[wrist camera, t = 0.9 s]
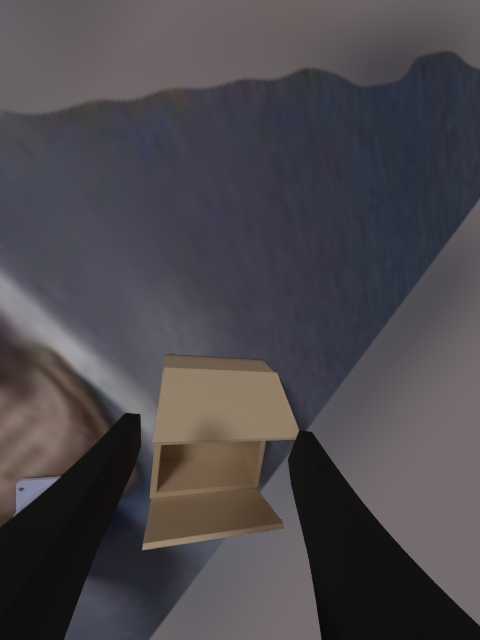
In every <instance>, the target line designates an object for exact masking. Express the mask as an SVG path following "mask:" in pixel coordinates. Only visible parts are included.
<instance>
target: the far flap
mask: <svg viewBox="0 0 480 640" xmlns="http://www.w3.org/2000/svg"><path fill="white" fill-rule="evenodd" d="M283 528H284V527H283V522H282V521H281V519H280V518H279V517H278V516H277V514H276V513H275V512H274V510H273V509H272V508H271V507H270V505H269V504H268V503H267V501H266V500H265V499H264V498H263V496H262V495H261V494H260V492H259V491H258V490H257V489H256V488H255V489H245V490H235V491H225V492H215V493H205V494H194V495H184V496H174V497H164V498H154V499H151V504H150V509H149V515H148V520H147V525H146V530H145V536H144V541H143V548H142V550H147V549H154V548H160V547H167V546H173V545H180V544H186V543H193V542H199V541H206V540H212V539H218V538H225V537H231V536H238V535H244V534H251V533H257V532H263V531H270V530H277V529H283Z"/></svg>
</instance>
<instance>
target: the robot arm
mask: <svg viewBox="0 0 480 640" xmlns="http://www.w3.org/2000/svg"><path fill="white" fill-rule="evenodd" d="M140 448H141V419H140V414H132V413H125V414H124V415H123V416H122V417H121V418H120V419H119V420H118V421H117V422H116V423H115V424H114V425H113V426H112V427H111V429H110V430H109V431H108V432H107V433H106V434H105V435H104V436H103V437H102V438H101V439H100V440H99V441H98V442H97V443H96V444H95V445H94V446H93V447H92V448H91V449H90V450H89V451H88V452H87V453H86V454H85V455H84V456H82V457H81V458H80V459H79V460H78V461H77V462H76V463H75V464H74V465H73V466H72V467H71V468H70V469H69V470H67V471H66V472H65V473H64V474H63V475H62V476H57V477H42V478H28V479H21V480H20V481H19V482H18V483H17V485H16V513H15V515H14V516H13V517H12V518H11V519H10V520H9V521H7V522H6V523H5V524H3V525H2V526H1V527H0V640H64V638H65V635H66V632H67V629H68V627H69V624H70V621H71V618H72V616H73V613H74V610H75V607H76V605H77V602H78V599H79V596H80V594H81V591H82V588H83V586H84V583H85V580H86V578H87V575H88V572H89V570H90V567H91V564H92V562H93V559H94V556H95V554H96V551H97V549H98V547H99V544H100V542H101V540H102V537H103V535H104V533H105V531H106V529H107V526H108V524H109V522H110V520H111V518H112V515H113V513H114V511H115V509H116V507H117V504H118V502H119V500H120V498H121V496H122V494H123V491H124V489H125V487H126V485H127V482H128V480H129V478H130V476H131V473H132V471H133V468H134V465H135V462H136V460H137V457H138V454H139V451H140ZM288 463H289V472H290V479H291V486H292V490H293V494H294V499H295V503H296V507H297V511H298V515H299V520H300V524H301V528H302V532H303V536H304V540H305V545H306V548H307V553H308V558H309V563H310V568H311V574H312V580H313V586H314V592H315V598H316V605H317V612H318V618H319V625H320V631H321V638H322V640H480V626H479V625H478V624H477V623H476V622H475V621H474V620H473V619H472V618H471V617H470V616H469V615H468V614H467V613H465V612H464V611H463V610H462V609H461V608H460V607H459V606H458V605H457V604H456V603H455V602H454V601H453V600H452V599H451V598H450V597H449V596H448V595H447V594H446V593H445V592H444V591H443V590H442V589H441V588H440V587H439V586H438V585H437V584H436V583H435V582H434V581H433V580H432V579H431V578H430V577H429V576H428V575H427V574H426V573H425V572H424V571H423V570H422V569H421V568H420V567H419V566H418V565H417V563H416V562H414V560H413V559H412V558H411V557H410V556H409V555H408V554H407V553H406V552H405V551H404V550H403V549H402V548H401V546H400V545H399V544H398V543H397V542H396V541H395V540H394V539H393V538H392V536H391V535H390V534H389V533H388V532H387V531H386V529H385V528H384V527H383V526H382V525H381V524H380V523H379V521H378V520H377V519H376V518H375V517H374V515H373V514H372V513H371V512H370V511H369V509H368V508H367V507H366V506H365V504H364V503H363V502H362V501H361V499H360V498H359V497H358V496H357V494H356V493H355V492H354V490H353V489H352V488H351V486H350V485H349V484H348V482H347V481H346V480H345V478H344V477H343V476H342V474H341V473H340V471H339V470H338V469H337V467H336V466H335V464H334V463H333V462H332V460H331V459H330V457H329V456H328V455H327V453H326V452H325V450H324V449H323V447H322V446H321V444H320V443H319V442H318V440H317V439H316V437H315V436H314V434H313V433H312V432H308V431H299V432H298V435H297V437H296V440H295V443H294V445H293V448H292V450H291V453H290V456H289V458H288Z"/></svg>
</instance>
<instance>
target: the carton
mask: <svg viewBox="0 0 480 640" xmlns="http://www.w3.org/2000/svg"><path fill="white" fill-rule="evenodd" d="M164 368H186V369H208V370H230V371H253V372H273V371H272V370H271V369H270V368H269V367H268V366H267V365H266V364H265V363H264V361H263V360H254V359H237V358H220V357H203V356H187V355H170V354H166V357H165V361H164V365H163V369H162V377H161V386H162V380H163V374H164ZM160 393H161V387H160ZM159 399H160V397H159ZM265 444H266V441H246V442H222V443H198V444H173V445H155V448H154V458H153V468H152V479H151V489H150V498H159V497H169V496H179V495H189V494H199V493H209V492H219V491H230V490H240V489H250V488H258V484H259V478H260V472H261V467H262V461H263V455H264V449H265Z"/></svg>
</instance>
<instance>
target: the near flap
mask: <svg viewBox="0 0 480 640" xmlns="http://www.w3.org/2000/svg"><path fill="white" fill-rule="evenodd" d="M298 432H299V429H298V426H297V423H296V421H295V418H294V416H293V413H292V410H291V408H290V405H289V403H288V400H287V398H286V395H285V392H284V390H283V387H282V385H281V382H280V379H279V377H278V374H277V373H275V372H253V371H230V370H208V369H186V368H164V374H163V380H162V386H161V393H160V399H159V405H158V411H157V418H156V424H155V430H154V436H153V444H152V445H173V444H198V443H222V442H246V441H271V440H295V439H296V437H297V435H298Z"/></svg>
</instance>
